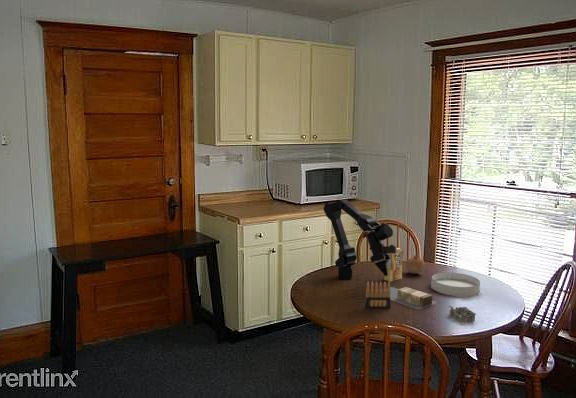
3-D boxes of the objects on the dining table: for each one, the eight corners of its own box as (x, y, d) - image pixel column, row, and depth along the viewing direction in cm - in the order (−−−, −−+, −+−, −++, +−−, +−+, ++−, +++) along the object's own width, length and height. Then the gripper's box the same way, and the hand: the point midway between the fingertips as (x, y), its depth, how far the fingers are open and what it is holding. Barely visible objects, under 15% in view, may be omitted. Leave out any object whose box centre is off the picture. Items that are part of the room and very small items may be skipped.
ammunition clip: (389, 307, 224) (390, 280, 222) (390, 309, 222) (391, 281, 220) (364, 307, 224) (365, 280, 222) (365, 308, 222) (366, 281, 220)
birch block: (397, 289, 233) (423, 298, 222) (406, 286, 237) (432, 295, 226) (397, 298, 234) (423, 307, 223) (406, 295, 238) (431, 304, 227)
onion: (426, 277, 266) (427, 258, 264) (407, 276, 266) (408, 257, 264) (421, 271, 275) (422, 252, 274) (403, 271, 275) (404, 252, 274)
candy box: (395, 277, 265) (396, 247, 263) (402, 279, 262) (403, 249, 260) (383, 280, 260) (385, 250, 257) (390, 282, 257) (391, 252, 254)
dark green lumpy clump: (446, 314, 218) (447, 304, 217) (463, 313, 219) (463, 303, 219) (460, 324, 207) (461, 314, 207) (477, 322, 209) (478, 312, 208)
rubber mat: (371, 293, 240) (371, 292, 240) (391, 287, 249) (391, 286, 249) (418, 310, 220) (418, 309, 220) (438, 303, 229) (438, 302, 229)
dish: (482, 286, 254) (482, 276, 253) (477, 300, 234) (478, 290, 233) (435, 279, 263) (435, 270, 262) (426, 293, 243) (427, 282, 242)
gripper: (388, 236, 234) (400, 270, 231) (394, 239, 252) (406, 270, 248) (365, 245, 237) (376, 278, 234) (372, 246, 255) (383, 277, 251)
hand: (386, 275), depth 241 cm, fingers closed
